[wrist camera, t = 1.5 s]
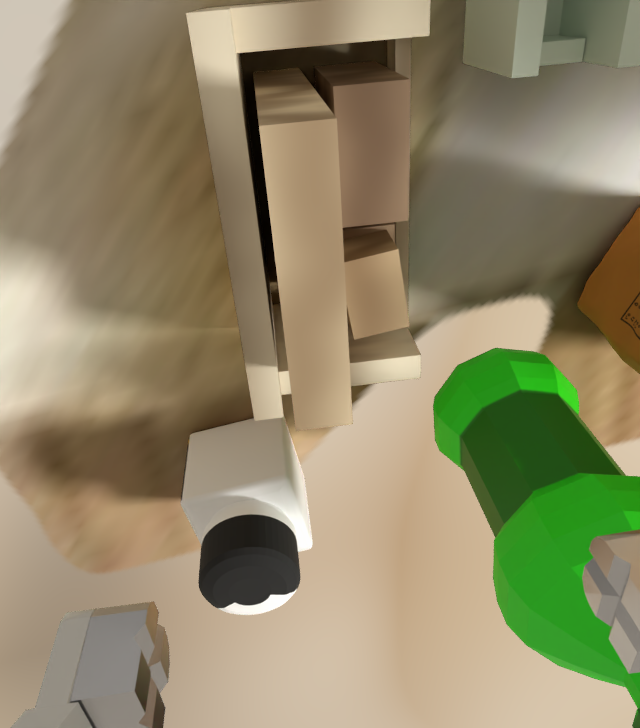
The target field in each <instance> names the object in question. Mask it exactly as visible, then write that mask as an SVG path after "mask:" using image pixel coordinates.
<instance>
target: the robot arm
mask: <svg viewBox="0 0 640 728" xmlns="http://www.w3.org/2000/svg"><path fill="white" fill-rule="evenodd" d="M589 551H590V552H591V554H592V556H593V558H592V559H591V560H590V561H589V562H588V563H587V564H586V565H585V566H584V571H583V576H582V580H583V586H584V592H585V595H586V598H587V600H588V603H589V605H590V607H591V609H592V610H593V612H594V614H595V616H596V617H597V618H599V619H600V620H602V621H603V622H605V623H606V624H608V625H609V626H610V633H609V640H610V642H611V644H612V645H613V647H614V649H615V651H616V652H617V654H618V656H619V657H620V659H621V661H622V663H623V664H624V666H625V668H626V669H627V671H628V673H629V674H630V673H638V672H640V529H639V530H633V531H627V532H621V533H615V534H608V535H602V536H596V537H595V538H594V539H593V540H592V541H591V544H590V548H589ZM158 614H159V612H158V609H157V607H156V605H155V602H154V601H153V602H145V603H137V604H129V605H121V606H114V607H106V608H98V609H97V608H96V609H89V610H82V611H75V612H67V613H66V614H65V616H64V617H63V619H62V620H61V622H60V625H59V628H58V631H57V635H56V638H55V642H54V645H53V648H52V652H51V655H50V659H49V662H48V666H47V669H46V672H45V676H44V679H43V682H42V686H41V690H40V693H39V696H38V699H37V703H36V706H35V708H33V709H28V710H25V712H24V713H23V714H22V715H21V717H19V718H18V720H17V721H16V722H15V723H14V724H13V725H12V727H11V728H163V724H164V714H165V706H164V703H163V701H162V698H161V695H160V692H161V691H162V689H163V688H164V687H165V685H166V684H167V683H168V678H169V666H170V660H169V659H170V658H169V643H168V637H167V634H166V631H165V628H164V627H162V626H161V625H159V624H157V623H158V616H159V615H158Z"/></svg>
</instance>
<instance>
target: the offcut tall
mask: <svg viewBox="0 0 640 728" xmlns="http://www.w3.org/2000/svg"><path fill="white" fill-rule="evenodd" d="M314 77H315V90H316V91H317V93H318V94H319V95H320V97H321V98H322V99H323V101H324V102H325V103H326V105H327V106H328V107H329V109H330V110H331V111H332V113H333V114H334V115H335V117H336V118H337V131H338V151H339V170H340V189H341V208H342V227H343V228H345V227H354V226H363V225H373V224H382V223H391V222H401V221H408V218H409V130H410V79H409V78H407V77H405V76H403V75H401V74H399V73H397V72H395V71H393V70H391V69H389V68H387V67H385V66H383V65H381V64H379V63H377V62H375V61H367V62H356V63H346V64H335V65H324V66H314Z"/></svg>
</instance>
